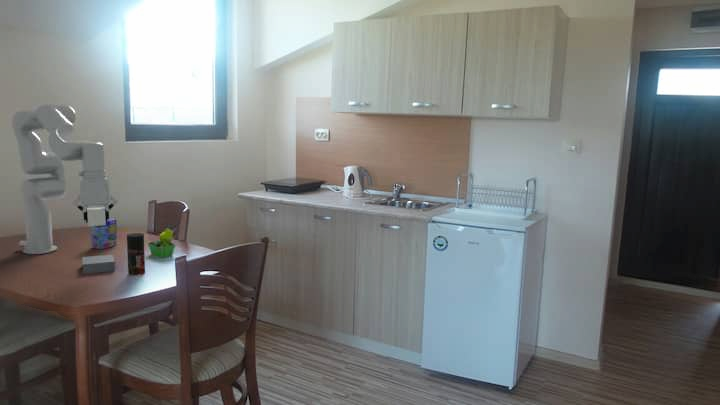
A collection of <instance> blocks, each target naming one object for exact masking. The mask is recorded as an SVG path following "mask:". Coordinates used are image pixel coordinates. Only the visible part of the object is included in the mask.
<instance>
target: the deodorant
mask: <svg viewBox="0 0 720 405" xmlns="http://www.w3.org/2000/svg"><path fill="white" fill-rule="evenodd" d="M126 247H127V248H126V249H127V250H126V251H127V272H128V273H127V274H128V275H129V276H141V275H144V274H145V273H146V261H145V260H146V258H145V234H144V233H140V232H134V233H128V234H126Z"/></svg>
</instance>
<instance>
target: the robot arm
mask: <svg viewBox="0 0 720 405" xmlns="http://www.w3.org/2000/svg"><path fill="white" fill-rule="evenodd" d="M76 120H77V115H76V111H75V110H74V108H72V107H71V106H70V105H67V104H49V103H48V104H42V105H39V106H38V107H37V108H36V109H28V110H27V109H24V110H23V109H22V110H18V111H16V112H15V113H13V115H12V117H11V128H12V131H13V134H14V135H15V136H14V137H15V138H16V140H17V144H18V152H19V160H20V165H21V170H22V172H23V173H24V174H25V175H29V176H39V175H49V176H47V177H33V178H28V179H25V180H23V181H22V182H21V183H20V188H19V191H20V194H21V198H22V202H23V207H24V208H23V209H24V220H25V223H24V224H25V236H26V240H20V241H19V243H18V247H24V248H23V250H22V252H23V253H24V254H27V255H41V254H42V255H43V254H44V255H45V254H49V253H53V252H56V251H57V250H58V246H56V245H54V244H53V227H52V211H51V208H50V207H49V205H48V204H47V203H46V202H45V201H46V200H54V199H56V200H57V199H61V198H64V197H65V196H66V194H67V192H68V183H67V176H66V175H67V174H66V168H65V162H79V161H80V162H82V171H79V172H78V176H79V177H82V178H81V180H80V185H79V186H80V187H79V194H80V195H79V196H78V197H77V198H76V199H74V201H73V202H72V205H74V207H76V208H77V209H79V210H80V211H81V212H82V213H83V221H85V223H86V224H88V215H87V208H89V206H103V207H104V208H105V220H106V222H107V219H109V218H110V212H109V211H110V210H111V209H112V208H114V206H115V205H116V204H118V200H117V199H116V198H115V197H114V196H113V195H112V194H111V192H110V191H111V189H110V185H109V184H110V183H109V178H107V177H106V166H105V147H104V144H103V143H102V142H96V141H95V142H94V141H91V140H67V139H68V138H70V137H71V136H72V134H73V132H74V126H73V125H74V124H75V123H76ZM35 132H48V133H49V135H48V145H49V148H50V150H51V151H44V149H43V143H42V140H41V138H40V137H39V136H38V135H37V134H36V133H35ZM111 201H112V202H111ZM79 203H80V204H79Z"/></svg>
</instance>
